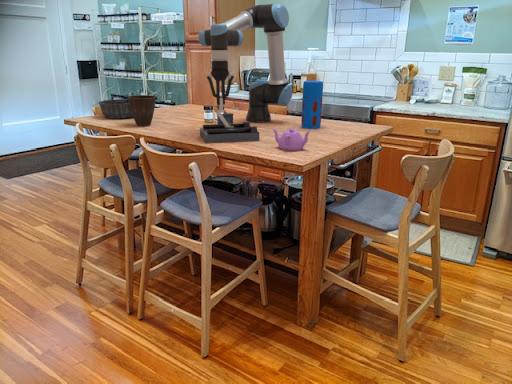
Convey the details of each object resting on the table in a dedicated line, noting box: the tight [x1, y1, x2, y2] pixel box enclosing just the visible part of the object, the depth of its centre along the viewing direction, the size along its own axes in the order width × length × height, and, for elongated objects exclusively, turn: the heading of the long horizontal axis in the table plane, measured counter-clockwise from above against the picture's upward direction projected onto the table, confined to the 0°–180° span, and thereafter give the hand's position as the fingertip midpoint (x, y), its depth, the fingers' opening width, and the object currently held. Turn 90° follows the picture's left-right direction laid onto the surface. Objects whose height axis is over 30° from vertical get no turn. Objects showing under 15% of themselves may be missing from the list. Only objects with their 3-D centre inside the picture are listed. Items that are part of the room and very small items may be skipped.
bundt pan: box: [97, 98, 133, 120], centre depth 259 cm, size 26×26×10 cm
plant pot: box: [127, 94, 157, 127], centre depth 231 cm, size 15×15×16 cm
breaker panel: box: [199, 121, 260, 144], centre depth 202 cm, size 26×18×6 cm
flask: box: [216, 109, 234, 124], centre depth 220 cm, size 9×3×11 cm, turn 121°
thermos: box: [301, 80, 324, 130], centre depth 229 cm, size 11×11×25 cm
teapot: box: [272, 128, 312, 152], centre depth 182 cm, size 12×14×9 cm
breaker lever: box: [212, 105, 229, 128], centre depth 199 cm, size 2×5×13 cm
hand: (221, 111), depth 198 cm, fingers closed
